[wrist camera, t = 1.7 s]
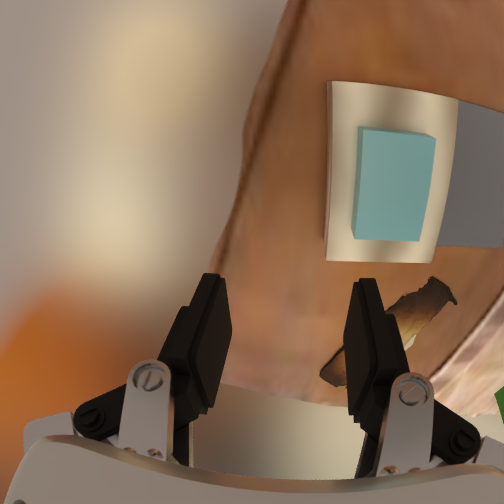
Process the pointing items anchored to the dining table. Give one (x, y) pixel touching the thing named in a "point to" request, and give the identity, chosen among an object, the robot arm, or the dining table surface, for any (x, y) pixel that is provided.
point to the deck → (345, 155)
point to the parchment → (401, 322)
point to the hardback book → (500, 401)
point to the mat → (476, 181)
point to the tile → (391, 183)
